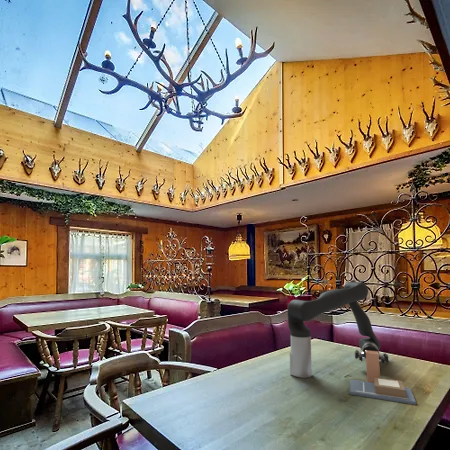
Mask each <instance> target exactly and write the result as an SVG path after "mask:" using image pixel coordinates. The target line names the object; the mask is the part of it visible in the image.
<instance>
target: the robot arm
mask: <svg viewBox="0 0 450 450" xmlns="http://www.w3.org/2000/svg"><path fill="white" fill-rule="evenodd" d="M368 295H369V287H368V286H367V285H366V284H365V283H364V282H359V281H357V282H355V281H347V282H346V283H344V286H343V288H337V289H335V288H334V289H329V290H328V291H327V290H326V291H324V292H322V293H321V294H320V295H319V296H318V298H317V299H313V300H300V299H292V300H291V301H290V302H289V303H288V306H287V324H288V329H289V331H290V332H289V333H290V352H289V369H290V370H289V372H290V373H289V374H290V376H294V377H297V378H303V379H304V378H305V379H306V378H311V377H312V376H313V372H312V371H313V367H312V365H313V363H312V362H313V360H312V337H311V329H310V328H308V327H307V325H306V324H305V323H304V322H309V321H312V320H313V319H315V318H316V317H318V316H320V315H322V314H325V313H327V312H330V311H334V310H336V309H338V308H340V307H341V308H342V307H343V306H346V305H349V307H350V310H351V312H352V313H353V314H352V315H353V316H354V319H355V322H356V326H357V329H358V332H359V334H360V336H363V338H359V340H358V345H359V348H360V350H361V351H359V350H355V352H354V358H355V359H356V360H357V359H358V360H359V361H360V362H363V360H364V361H366V350H368V351H377V352H378V353H379V363H380V362H381V365H384V364H385V363H389V362H390V361H389V356H388V353H383V354H381V353H380V352H379V350H380V349H381V343H380V340H379V339H378V338H377V336H376V334H375V333H374V330H373V326H372V323H371V320H370V318H369V316H368V314H367V313H366V312H365V311H364V309H363V308H362V306H361V305H360V303H359V301H362V300H365V299H366V298H367V297H368Z"/></svg>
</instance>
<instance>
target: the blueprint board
mask: <svg viewBox="0 0 450 450" xmlns="http://www.w3.org/2000/svg"><path fill="white" fill-rule="evenodd" d="M349 385H350V386H349V395H352V396H353V395H354V396H357V397H358V396H359V397H364V398H365V397H366V398H372V399H378V400H384V401H390V402H397V403H402V404H409V405H414V406H415V405H417V402H416V399H415V396H414V394H413V391H412V389H411V388H410V387H405V386H404V384H403V381H402V380H396V379H388V378H383V377H382V378H381V377H380V378H375V377H374V383H372V382H367V381H365V380H357V379H356V380H355V379H350V384H349Z"/></svg>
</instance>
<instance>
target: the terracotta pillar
mask: <svg viewBox="0 0 450 450" xmlns="http://www.w3.org/2000/svg"><path fill="white" fill-rule="evenodd" d="M379 353H380V352H379ZM379 353H378V352H377V351H368V350H366V360H365V364H366V382H372V383H374V377H375V378H381V371H380V370H381V369H380V362H379Z"/></svg>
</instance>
